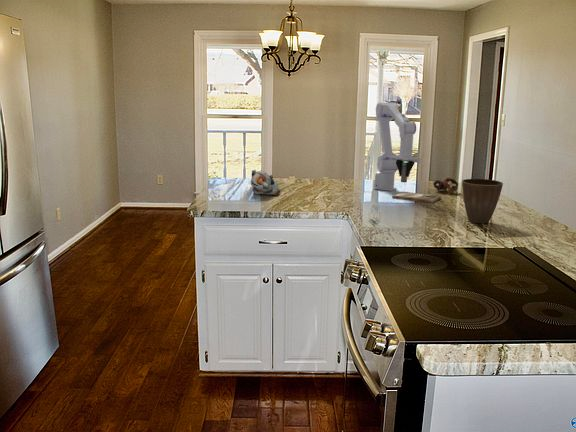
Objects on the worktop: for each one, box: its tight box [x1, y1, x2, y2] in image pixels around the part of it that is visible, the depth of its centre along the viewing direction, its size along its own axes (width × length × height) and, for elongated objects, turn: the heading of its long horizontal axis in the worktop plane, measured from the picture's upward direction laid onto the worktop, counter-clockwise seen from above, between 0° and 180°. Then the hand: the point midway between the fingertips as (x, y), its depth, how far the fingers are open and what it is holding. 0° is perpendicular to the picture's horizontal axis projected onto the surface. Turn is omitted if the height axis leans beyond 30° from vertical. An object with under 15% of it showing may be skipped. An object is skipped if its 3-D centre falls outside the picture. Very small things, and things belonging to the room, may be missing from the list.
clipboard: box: [392, 191, 442, 204], centre depth 256 cm, size 19×14×1 cm
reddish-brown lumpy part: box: [432, 177, 459, 195], centre depth 272 cm, size 12×10×8 cm
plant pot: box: [461, 178, 504, 224], centre depth 210 cm, size 15×15×16 cm
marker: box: [400, 161, 408, 183], centre depth 257 cm, size 3×3×9 cm
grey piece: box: [250, 169, 282, 196], centre depth 255 cm, size 15×12×14 cm
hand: (404, 176), depth 257 cm, fingers closed on marker, 3 cm apart
